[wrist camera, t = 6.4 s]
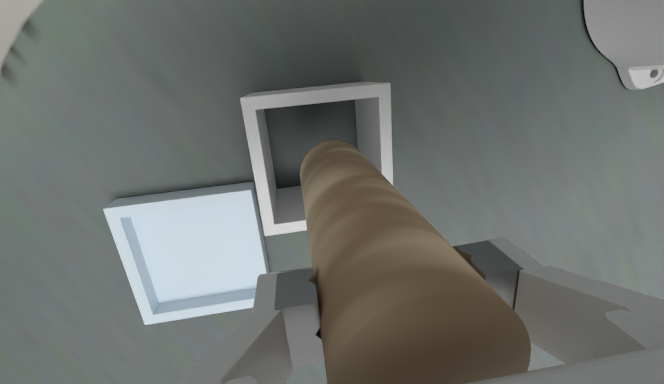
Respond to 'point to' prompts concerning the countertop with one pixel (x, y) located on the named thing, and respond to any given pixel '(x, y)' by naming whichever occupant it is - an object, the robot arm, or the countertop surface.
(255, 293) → the robot arm
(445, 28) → the countertop surface
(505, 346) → the dowel
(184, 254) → the tray
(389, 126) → the white open box
